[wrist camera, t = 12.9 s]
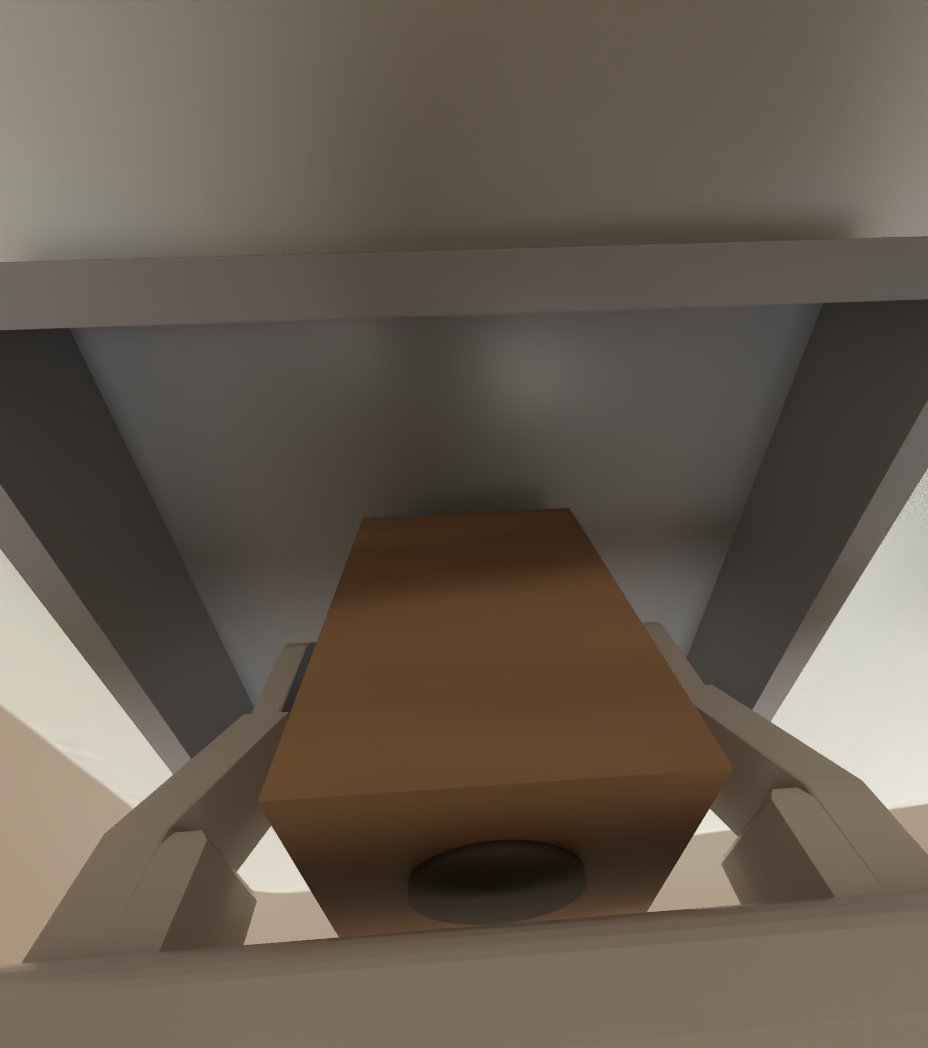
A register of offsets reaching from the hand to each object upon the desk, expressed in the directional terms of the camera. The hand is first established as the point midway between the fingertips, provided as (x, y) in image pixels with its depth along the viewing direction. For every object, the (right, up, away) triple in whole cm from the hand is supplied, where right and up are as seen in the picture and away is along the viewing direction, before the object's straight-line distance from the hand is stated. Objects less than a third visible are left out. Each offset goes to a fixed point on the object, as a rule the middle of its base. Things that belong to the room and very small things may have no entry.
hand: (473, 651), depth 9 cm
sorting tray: (0, +2, +4) cm, 4 cm away
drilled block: (0, +1, +2) cm, 2 cm away
